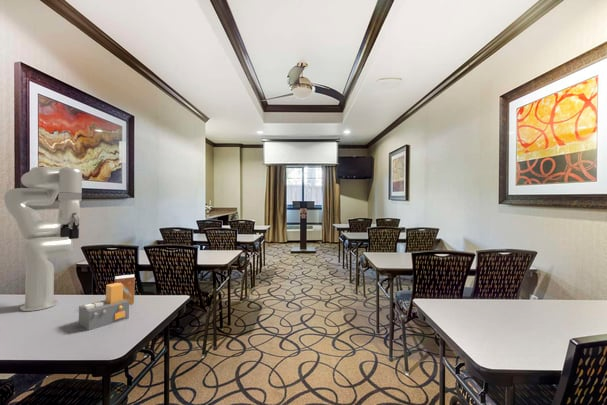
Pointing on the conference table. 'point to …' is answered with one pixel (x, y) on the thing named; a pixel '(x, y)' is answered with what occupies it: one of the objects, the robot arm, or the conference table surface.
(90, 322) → the box
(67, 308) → the conference table surface
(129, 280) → the small box
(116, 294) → the cap
